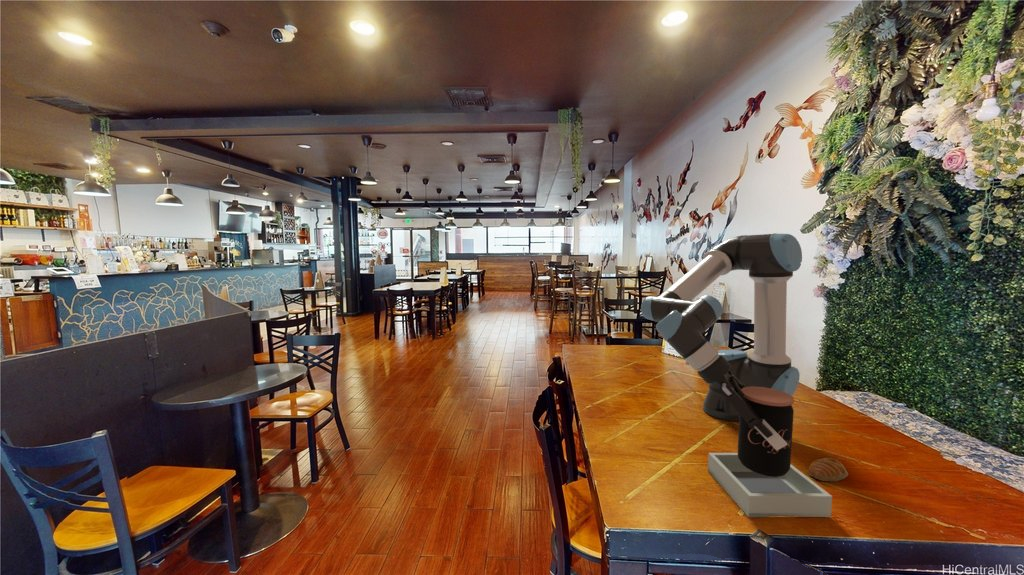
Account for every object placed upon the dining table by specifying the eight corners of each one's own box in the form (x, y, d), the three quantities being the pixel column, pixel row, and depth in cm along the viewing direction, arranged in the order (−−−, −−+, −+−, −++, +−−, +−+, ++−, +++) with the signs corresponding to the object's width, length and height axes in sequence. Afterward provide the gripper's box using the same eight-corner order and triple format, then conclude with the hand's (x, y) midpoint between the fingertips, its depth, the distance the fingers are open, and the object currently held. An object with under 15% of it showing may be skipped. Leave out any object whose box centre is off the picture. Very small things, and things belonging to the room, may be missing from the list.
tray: (775, 470, 100) (776, 452, 99) (830, 517, 82) (832, 496, 82) (707, 470, 100) (708, 452, 100) (748, 517, 82) (749, 496, 82)
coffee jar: (741, 472, 87) (745, 398, 86) (733, 450, 97) (736, 384, 96) (796, 482, 83) (801, 405, 82) (782, 458, 93) (786, 389, 92)
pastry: (829, 487, 93) (830, 473, 92) (799, 473, 99) (800, 459, 99) (850, 478, 97) (850, 464, 96) (819, 465, 103) (820, 451, 102)
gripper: (700, 360, 106) (762, 425, 100) (691, 384, 87) (768, 467, 80) (722, 344, 103) (788, 410, 96) (718, 365, 84) (801, 450, 77)
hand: (779, 436), depth 88 cm, fingers closed on coffee jar, 10 cm apart
